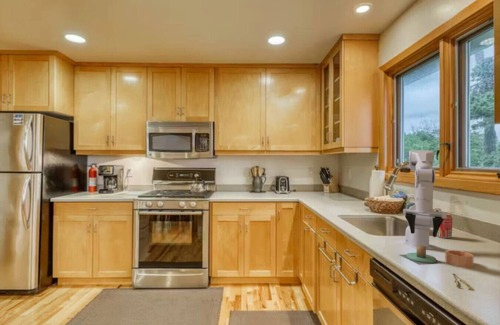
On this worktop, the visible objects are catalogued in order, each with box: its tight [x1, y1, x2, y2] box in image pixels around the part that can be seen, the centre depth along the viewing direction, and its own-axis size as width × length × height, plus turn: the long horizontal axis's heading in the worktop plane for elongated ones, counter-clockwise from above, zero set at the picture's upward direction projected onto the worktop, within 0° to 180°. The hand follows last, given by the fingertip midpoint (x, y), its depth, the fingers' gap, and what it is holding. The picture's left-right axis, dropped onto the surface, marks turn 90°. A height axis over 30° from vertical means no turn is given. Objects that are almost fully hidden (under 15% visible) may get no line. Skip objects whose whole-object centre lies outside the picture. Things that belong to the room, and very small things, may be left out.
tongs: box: [452, 273, 474, 291], centre depth 94 cm, size 4×13×2 cm, turn 164°
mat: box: [399, 253, 444, 266], centre depth 115 cm, size 11×11×1 cm
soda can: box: [437, 212, 453, 239], centre depth 151 cm, size 7×7×12 cm
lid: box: [406, 245, 437, 263], centre depth 115 cm, size 10×10×5 cm
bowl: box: [444, 249, 475, 268], centre depth 111 cm, size 8×8×4 cm
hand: (423, 235), depth 114 cm, fingers open, 7 cm apart
